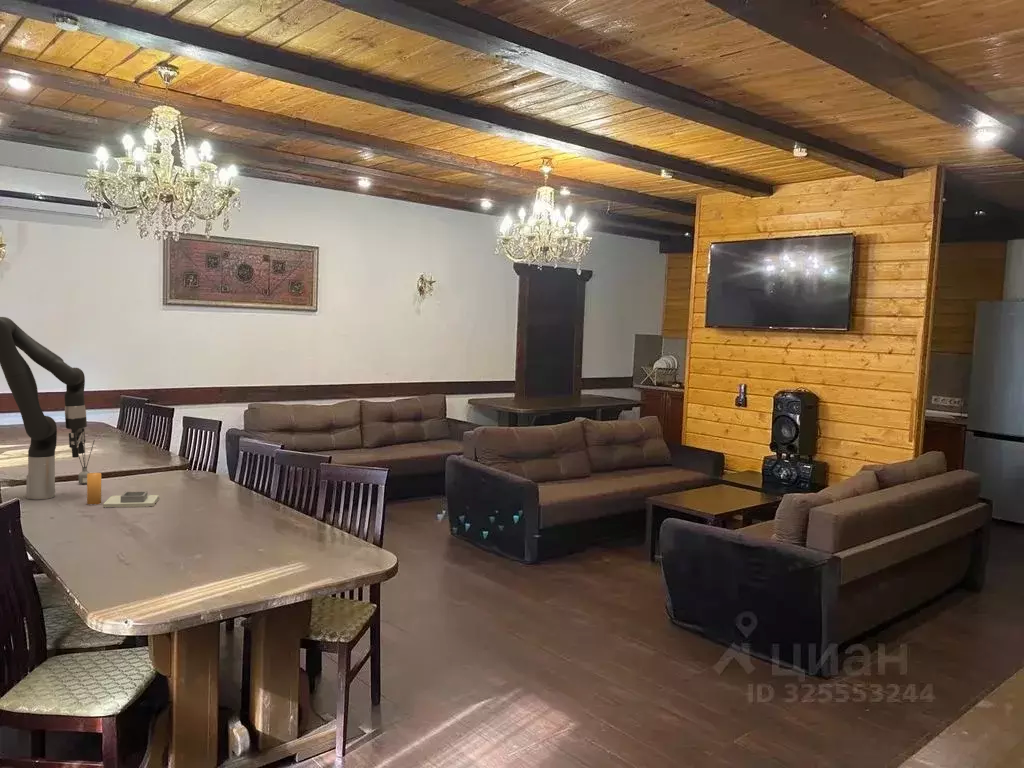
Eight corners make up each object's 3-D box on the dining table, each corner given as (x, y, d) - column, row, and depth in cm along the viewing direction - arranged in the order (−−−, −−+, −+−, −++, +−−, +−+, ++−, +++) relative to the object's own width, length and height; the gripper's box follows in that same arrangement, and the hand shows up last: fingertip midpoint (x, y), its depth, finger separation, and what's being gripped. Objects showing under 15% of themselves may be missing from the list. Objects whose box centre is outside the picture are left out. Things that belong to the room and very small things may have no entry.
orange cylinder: (85, 504, 298) (85, 475, 297) (88, 501, 303) (88, 472, 302) (99, 504, 300) (99, 475, 299) (102, 501, 304) (102, 472, 303)
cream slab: (103, 507, 295) (103, 497, 295) (111, 499, 308) (111, 489, 308) (153, 506, 300) (153, 497, 300) (159, 498, 314) (159, 489, 313)
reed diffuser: (73, 485, 328) (73, 440, 327) (71, 482, 334) (71, 438, 332) (100, 483, 335) (100, 439, 333) (97, 480, 340) (97, 437, 339)
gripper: (70, 414, 313) (72, 453, 315) (60, 419, 300) (63, 459, 301) (90, 413, 315) (92, 451, 317) (81, 418, 302) (84, 458, 303)
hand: (78, 455), depth 309 cm, fingers open, 8 cm apart
